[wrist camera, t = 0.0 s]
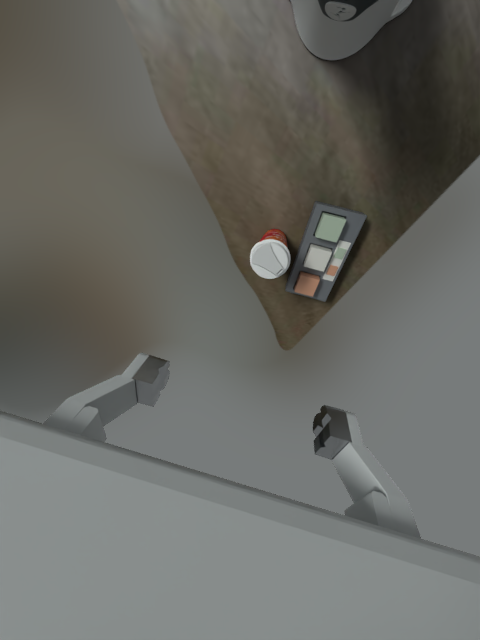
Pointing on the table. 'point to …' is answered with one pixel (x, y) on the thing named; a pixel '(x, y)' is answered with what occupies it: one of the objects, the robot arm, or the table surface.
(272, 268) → the paper cup
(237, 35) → the table surface
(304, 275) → the key terracotta
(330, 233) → the key sage
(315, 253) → the key white
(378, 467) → the robot arm
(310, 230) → the keypad housing
